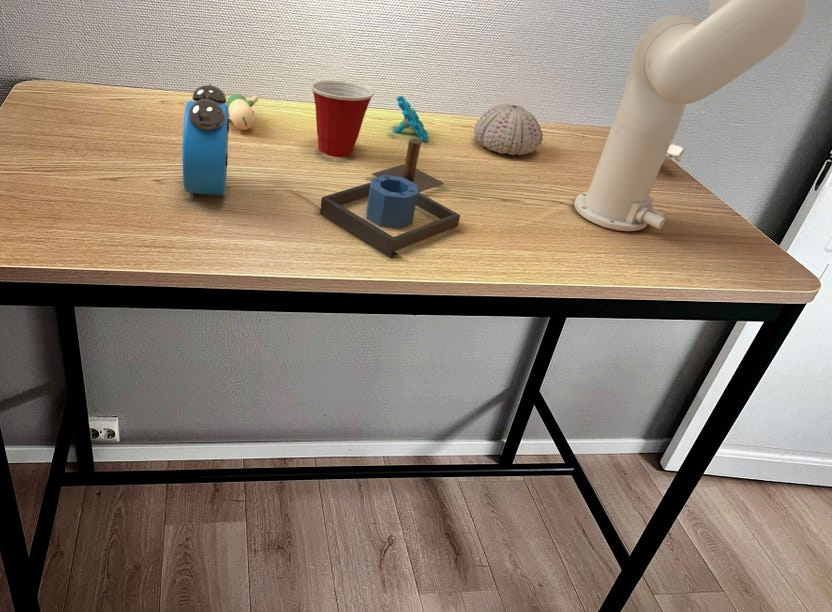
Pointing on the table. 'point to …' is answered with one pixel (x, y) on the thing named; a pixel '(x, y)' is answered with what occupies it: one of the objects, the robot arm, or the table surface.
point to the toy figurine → (241, 111)
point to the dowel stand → (412, 169)
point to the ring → (391, 201)
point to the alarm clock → (205, 142)
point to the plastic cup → (339, 114)
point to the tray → (375, 235)
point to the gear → (410, 120)
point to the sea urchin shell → (508, 130)
